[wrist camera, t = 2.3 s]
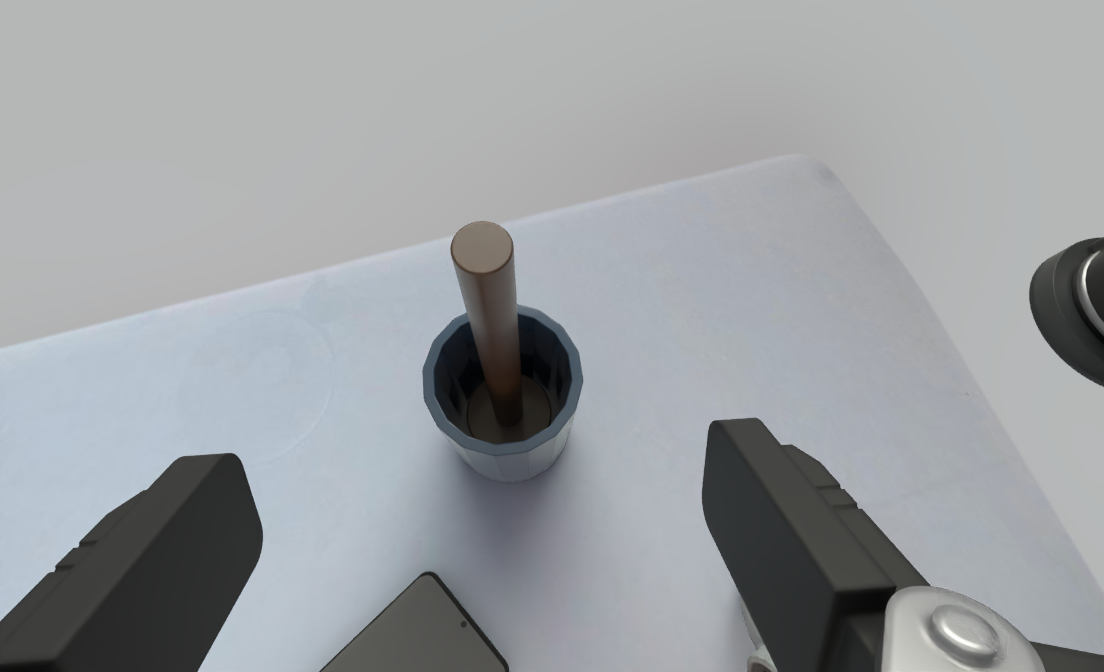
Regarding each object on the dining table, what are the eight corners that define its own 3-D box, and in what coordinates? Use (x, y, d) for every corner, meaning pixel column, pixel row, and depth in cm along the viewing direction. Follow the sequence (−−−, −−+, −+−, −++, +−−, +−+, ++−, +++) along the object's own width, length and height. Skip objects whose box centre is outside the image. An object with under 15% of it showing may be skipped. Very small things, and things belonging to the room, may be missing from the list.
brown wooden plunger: (484, 375, 33) (424, 153, 14) (558, 395, 33) (594, 194, 14) (460, 450, 31) (355, 306, 13) (538, 471, 31) (549, 356, 12)
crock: (474, 358, 34) (452, 287, 25) (579, 386, 34) (597, 324, 24) (438, 465, 31) (398, 430, 22) (551, 496, 31) (560, 474, 22)
